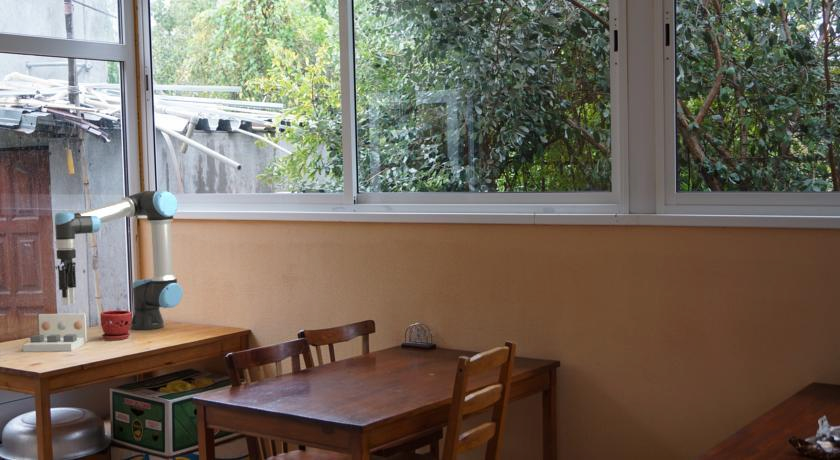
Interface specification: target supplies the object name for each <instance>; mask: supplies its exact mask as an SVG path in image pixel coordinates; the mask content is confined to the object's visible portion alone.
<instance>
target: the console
mask: <svg viewBox="0 0 840 460" xmlns="http://www.w3.org/2000/svg"><path fill="white" fill-rule="evenodd" d="M84 344H85V341H84V338H77V340H76V341H74V342H64V338H60V341H58V342H47V338H44V341H43V342H36V343H31V341H29V342H27V343H24V344H23V345H22V348H23V353H31V352H32V353H34V352H36V353H37V352H39V353H41V352H42V353H43V352H73V351H74V350H77V349H78V348H80V347H82V346H84Z"/></svg>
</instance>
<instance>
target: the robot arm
mask: <svg viewBox="0 0 840 460" xmlns="http://www.w3.org/2000/svg"><path fill="white" fill-rule="evenodd" d="M178 206H179V205H178V199H177V198H176V196H175V195H174V194H173V193H171V192H170V191H165V190H145V191H141V192H140V191H139V192H137V193H134V194H131V195H128V196H124V197H123V198H122V199H121V200H118V201H114V202H111V203H107V204H103V205H100V206H97V207H93V208H90V209H85V210H81V211H78V212H76V213H75V212H73V211H72V212H71V211H68V212H66V211H65V212H57V213H56V214H55V216H54V227H55V242H54V243H55V244H56V245H55V246H56V249H57V250H56V259H57V260H60V264H58V265H57V271H58V290H59V291H61V301H62V302H61V304H62V306H70V304H75V303H76V301H75V288H77V280H76V279H77V278H76V264H77V263H76V261H75V262H74V261H73V259H76V257H77V254H76V253H77V251H76V235H80V234H81V235H82V234H94V233H98V232H99V231H100V230H101V227H102V224H103V223H107V222H110V221H115V220H117V219H121V218H125V217H128V218H134V217H137V216H143V217H144V216H145V217H146V220H147V222H148V223H149V224H150V228H151V230H150V233H151V246H152V247H151V248H152V264H153V265H152V266H153V276H152V277H151V278H146V279H145V278H144V279H138V280H135V281H133V283H132V297H133V299H132V300H133V315H132V319H131V326H130V329H131V330H136V331H138V330H139V331H146V330H156V329H162V328H163V327H164V326H165V323H164V318H163V316H162V314H161V310H160V308H163V309H171V308H175V307H177V306H178V305H179V303H180V302H181V300H183V293H184V292H183V288H182V286H181V285H180V284H179V283H178V278H177V276H175V274H174V267H173V264H174V263H173V249H172V246H173V245H172V232H171V230H172V229H171V223H172V222H173V220H174V215H175V214H176V212H177V211H178Z"/></svg>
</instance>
